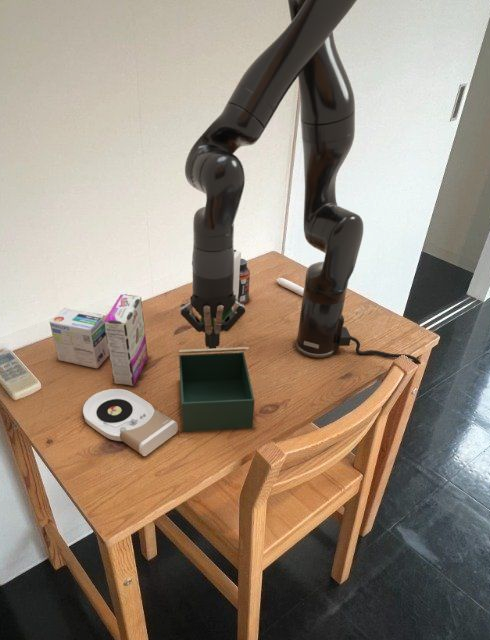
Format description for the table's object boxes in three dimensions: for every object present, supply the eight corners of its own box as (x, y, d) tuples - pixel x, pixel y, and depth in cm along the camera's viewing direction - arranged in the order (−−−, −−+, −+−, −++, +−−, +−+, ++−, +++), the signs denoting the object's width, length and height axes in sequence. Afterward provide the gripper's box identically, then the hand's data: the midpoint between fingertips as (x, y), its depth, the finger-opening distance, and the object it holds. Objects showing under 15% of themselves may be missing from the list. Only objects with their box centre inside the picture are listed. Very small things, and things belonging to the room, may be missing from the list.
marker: (273, 283, 148) (274, 276, 147) (278, 281, 149) (279, 273, 148) (322, 307, 138) (323, 300, 136) (327, 305, 139) (328, 297, 137)
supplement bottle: (248, 305, 139) (251, 266, 131) (226, 305, 139) (228, 266, 132) (247, 294, 143) (250, 256, 136) (226, 294, 143) (227, 256, 136)
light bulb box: (111, 353, 122) (105, 314, 115) (98, 369, 117) (91, 329, 110) (71, 345, 125) (63, 306, 118) (57, 361, 120) (47, 321, 113)
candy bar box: (128, 355, 121) (120, 293, 111) (148, 357, 121) (142, 295, 110) (112, 384, 113) (102, 320, 102) (134, 387, 112) (126, 322, 102)
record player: (136, 449, 94) (70, 402, 104) (138, 461, 96) (72, 414, 106) (181, 417, 100) (114, 376, 111) (182, 429, 102) (116, 387, 113)
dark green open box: (182, 432, 102) (181, 403, 97) (180, 382, 114) (179, 354, 109) (252, 428, 102) (254, 400, 98) (242, 379, 114) (243, 352, 110)
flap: (179, 351, 101) (179, 349, 101) (179, 353, 108) (179, 351, 108) (248, 349, 101) (248, 346, 101) (243, 350, 109) (243, 348, 109)
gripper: (177, 278, 90) (180, 359, 101) (252, 276, 91) (247, 356, 102) (176, 259, 96) (179, 337, 107) (246, 257, 96) (242, 335, 107)
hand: (212, 346), depth 104 cm, fingers closed
